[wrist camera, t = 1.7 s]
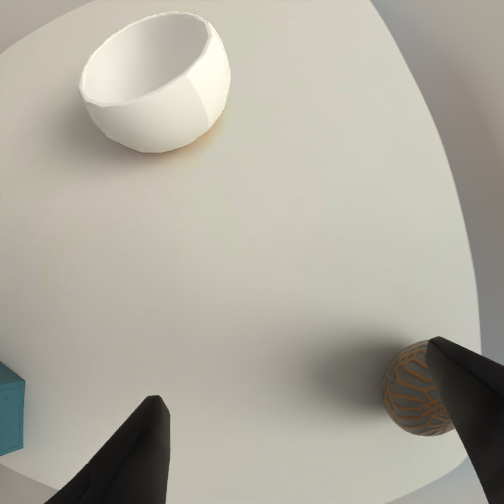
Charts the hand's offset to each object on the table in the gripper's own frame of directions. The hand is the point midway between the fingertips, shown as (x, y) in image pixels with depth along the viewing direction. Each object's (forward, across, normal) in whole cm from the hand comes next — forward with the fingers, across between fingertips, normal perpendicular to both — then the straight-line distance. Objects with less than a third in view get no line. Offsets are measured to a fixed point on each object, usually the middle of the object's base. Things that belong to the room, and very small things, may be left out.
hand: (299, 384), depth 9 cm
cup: (+25, +6, -10) cm, 27 cm away
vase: (+9, -10, +12) cm, 18 cm away
